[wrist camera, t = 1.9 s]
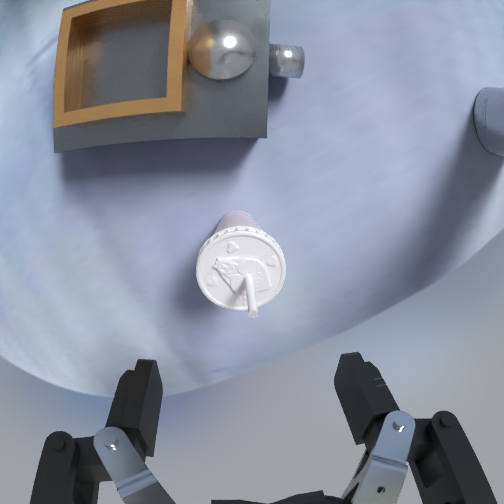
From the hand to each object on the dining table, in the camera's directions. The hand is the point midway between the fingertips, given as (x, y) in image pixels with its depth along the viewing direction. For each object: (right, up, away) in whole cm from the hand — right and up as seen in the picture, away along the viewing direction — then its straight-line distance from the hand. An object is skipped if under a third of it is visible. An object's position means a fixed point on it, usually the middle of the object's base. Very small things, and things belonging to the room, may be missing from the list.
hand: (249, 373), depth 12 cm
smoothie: (-1, +8, +18) cm, 19 cm away
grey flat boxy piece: (-6, +22, +11) cm, 25 cm away
